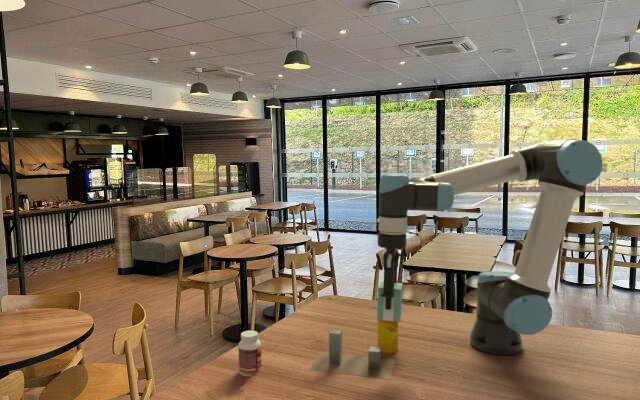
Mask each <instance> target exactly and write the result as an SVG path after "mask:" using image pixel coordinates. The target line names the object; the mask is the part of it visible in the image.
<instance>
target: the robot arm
mask: <svg viewBox="0 0 640 400" xmlns="http://www.w3.org/2000/svg"><path fill="white" fill-rule="evenodd" d="M603 164H604V163H603V157H602V154H601V153H600V151H599V149H598V148H597V146H595V144H594V143H592V142H590V141H588V140H582V139H576V138H571V139H557V140H556V139H555V140H554V139H550V140H549V139H548V140H545V141H541V142H538V143H535V144H532V145H529V146H526V147H522V148H519V149H515V150H512V151H511V152H510V153H509V154H508V155H505V156H501V157H498V158H494V159H490V160H485V161H482V162H477V163H475V164H469V165H466V166H462V167H459V168H454V169H450V170H445V171H442V172H439V173H438V172H437V173H434V174H432V175H427V176H423V177H418V178H417V177H412V178H409V176H408V175H407V174H400V173H398V174H397V173H396V174H395V173H386V174H382V175H381V176H380V180H379V188H378V189H379V190H378V196H379V197H378V200H379V201H378V218H377V219H376V220H375V221H376V223H378V225H377V226H378V227H377V228H378V229H377V230H378V231H379V232H378V233H377V245H378V247H380V248H382V249H386V251H384V254H383V259H382V260H383V282H384V286H383V294H381V297H384V300H383V320H385V321H393V316H394V283H398V268H399V260H400V252H399V250H401V249H405V248H406V247H407V233H406V232H407V231H408V211H437V212H440V211H449V210H451V208H452V207H453V205H454V203H455V196H457V195H461V194H465V193H468V192H469V193H470V192H473V191H477V190H481V189H482V190H483V189H485V188H488V187H489V188H490V187H493V186H497V185H501V184H504V183H505V184H506V183H508V182H512V181H516V182H519V183H523V182H526V181H527V182H528V181H536V180H537V184H538V187H540V194H539V197H538V200H537V203H536V206H535V209H534V213H533V214H532V218H531V220H530V224H529V226H528V231H527V233H526V236H525V240H524V242H523V245H522V249H521V250H520V251H521V252H520V255H519V258H518V261H517V263H516V267H515V270H514V271H513V272H512V271H504V270H503V271H501V270H500V271H499V270H496V271H495V270H490V271H489V270H488V271H483V272H480V273H479V274H478V276H477V282H476V285H477V288H476V289H477V290H476V318H475V322H474V323H473V326H472V328H471V331H470V334H469V343H470V345H471V346H472V347H473V348H474V349H476V350H479V351H480V352H483V353H487V354H491V355H498V356H510V355H511V356H512V355H515V354H518V353H521V351H522V350H523V340H522V337H521V335H524V336H526V335H527V336H531V335H532V336H533V335H536V334H537V333H539V332H542V331H544V330H545V329H546V328H547V327H548V326H549V324H550V322H551V321H552V318H553V308H552V306H551V304H550V302H549V298H550V295H551V291H552V290H551V288H550V286H549V284H548V281H549V279H550V277H551V276H550V275H551V272H552V270H553V267H554V264H555V260H556V258H557V255H558V252H559V248H560V245H561V242H562V239H563V236H564V234H565V232H566V227H567V226H568V225H567V224H568V222H569V218H570V216H571V213H572V210H573V207H574V204H575V202H576V199H578V198H579V197H581V196H583V195H585V191H586V189H587V185H589V184H592V183H593V182H594V181H596V180H597V179H598V178H599V177H600V175H601V173H602V170H603Z"/></svg>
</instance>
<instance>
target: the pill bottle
mask: <svg viewBox="0 0 640 400" xmlns="http://www.w3.org/2000/svg"><path fill="white" fill-rule="evenodd" d="M240 339H241V340H240V341H239V342H238V372H239V374H240V375H241V376H242V377H246V378H249V377H252V376H253V375H254V374H255V373H258V372H260V371H261V369H262V343H261V340H260V339H259V332H258V331H256V330H245V331H242V332H241V333H240Z"/></svg>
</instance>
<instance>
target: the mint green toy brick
mask: <svg viewBox="0 0 640 400" xmlns="http://www.w3.org/2000/svg"><path fill="white" fill-rule="evenodd" d="M383 286H384V281H380V282H379V284H378V287H377V306H376V307H377V309H376V310H377V312H376V320H377V321H378V320H383V300H384V297H381V294H383ZM402 304H403V283H402V282H397V283H394V316H393V321H396V322H398V323H400V322H401V318H402V308H403V305H402Z"/></svg>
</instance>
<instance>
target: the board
mask: <svg viewBox="0 0 640 400" xmlns="http://www.w3.org/2000/svg"><path fill="white" fill-rule="evenodd" d="M395 360H396V359H395V358H386V357H381V366H380V369H379V370H376V369H368V355H359V354H358V355H357V354H350V353H342V362H341V364H340V365H332V364H329V351H324V350H323V351H319V353H318V354H317V356H316V358H315V359H314V361H313V363H312V365H311V366H310V368H309V371H316V372H325V373H333V374H340V375H349V376H358V377H359V376H360V377H367V378H375V379H383V380H391V379H392V374H393V369H394V366H395Z"/></svg>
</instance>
